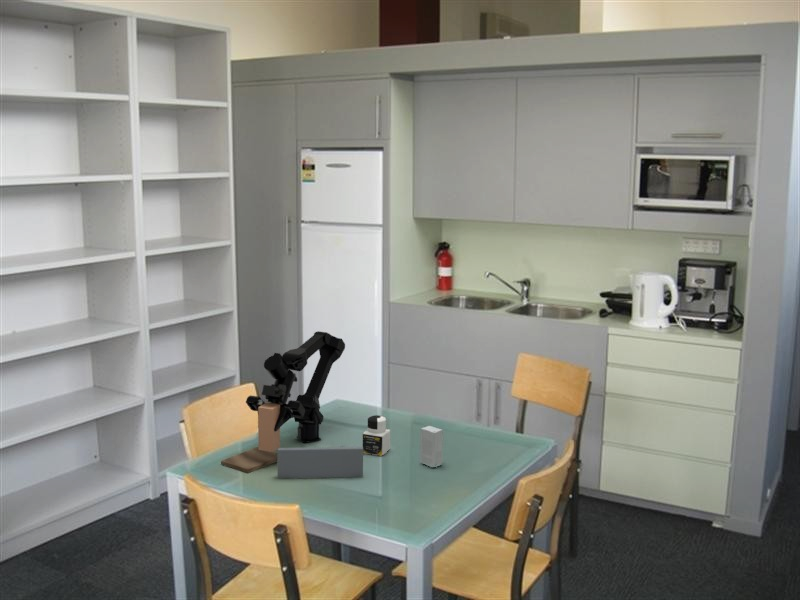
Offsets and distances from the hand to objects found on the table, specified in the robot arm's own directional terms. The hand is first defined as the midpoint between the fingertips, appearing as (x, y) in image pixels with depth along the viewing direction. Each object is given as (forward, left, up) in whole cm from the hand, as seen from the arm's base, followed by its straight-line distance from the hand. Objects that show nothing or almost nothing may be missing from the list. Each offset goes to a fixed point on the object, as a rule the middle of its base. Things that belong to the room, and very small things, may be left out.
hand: (267, 429), depth 266 cm
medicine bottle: (-36, +7, -12) cm, 39 cm away
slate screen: (-11, +15, -12) cm, 22 cm away
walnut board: (+3, -5, -12) cm, 13 cm away
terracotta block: (-1, -1, -7) cm, 7 cm away
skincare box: (-45, +26, -12) cm, 53 cm away
